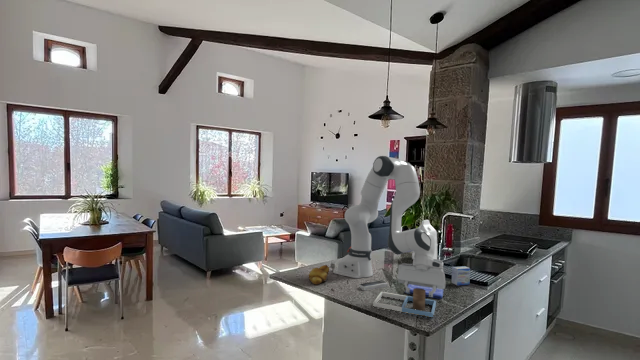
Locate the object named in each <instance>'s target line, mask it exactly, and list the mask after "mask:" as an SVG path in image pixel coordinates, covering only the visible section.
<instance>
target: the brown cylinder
mask: <svg viewBox="0 0 640 360" xmlns="http://www.w3.org/2000/svg"><path fill="white" fill-rule="evenodd" d="M425 293H426V291H425V290H424V289H421V288H415V289H413V295H412V297H413V302H412V309H413V308H414V309H416V310H424V311H426V304H425V299H426V297H425Z"/></svg>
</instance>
